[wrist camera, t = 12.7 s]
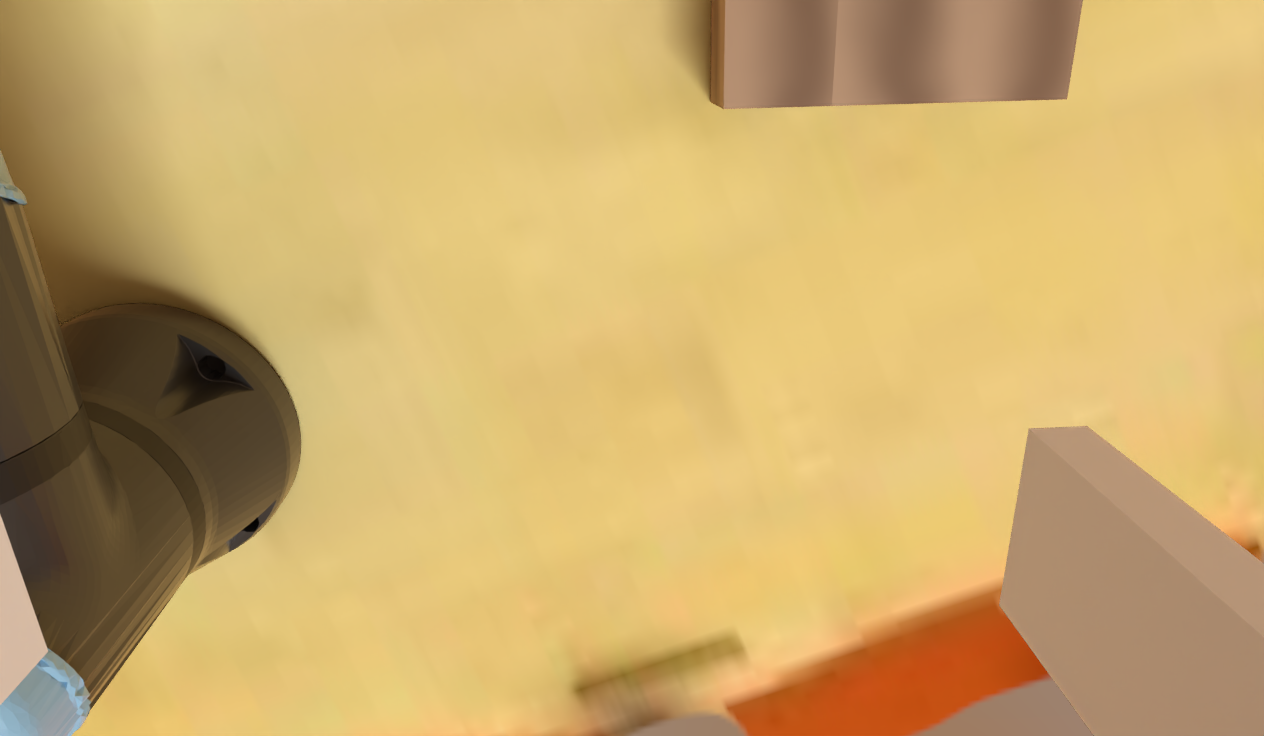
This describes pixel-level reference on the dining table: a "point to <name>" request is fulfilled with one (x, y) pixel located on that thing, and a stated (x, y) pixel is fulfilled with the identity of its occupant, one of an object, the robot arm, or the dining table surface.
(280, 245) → the dining table surface
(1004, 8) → the socket block
